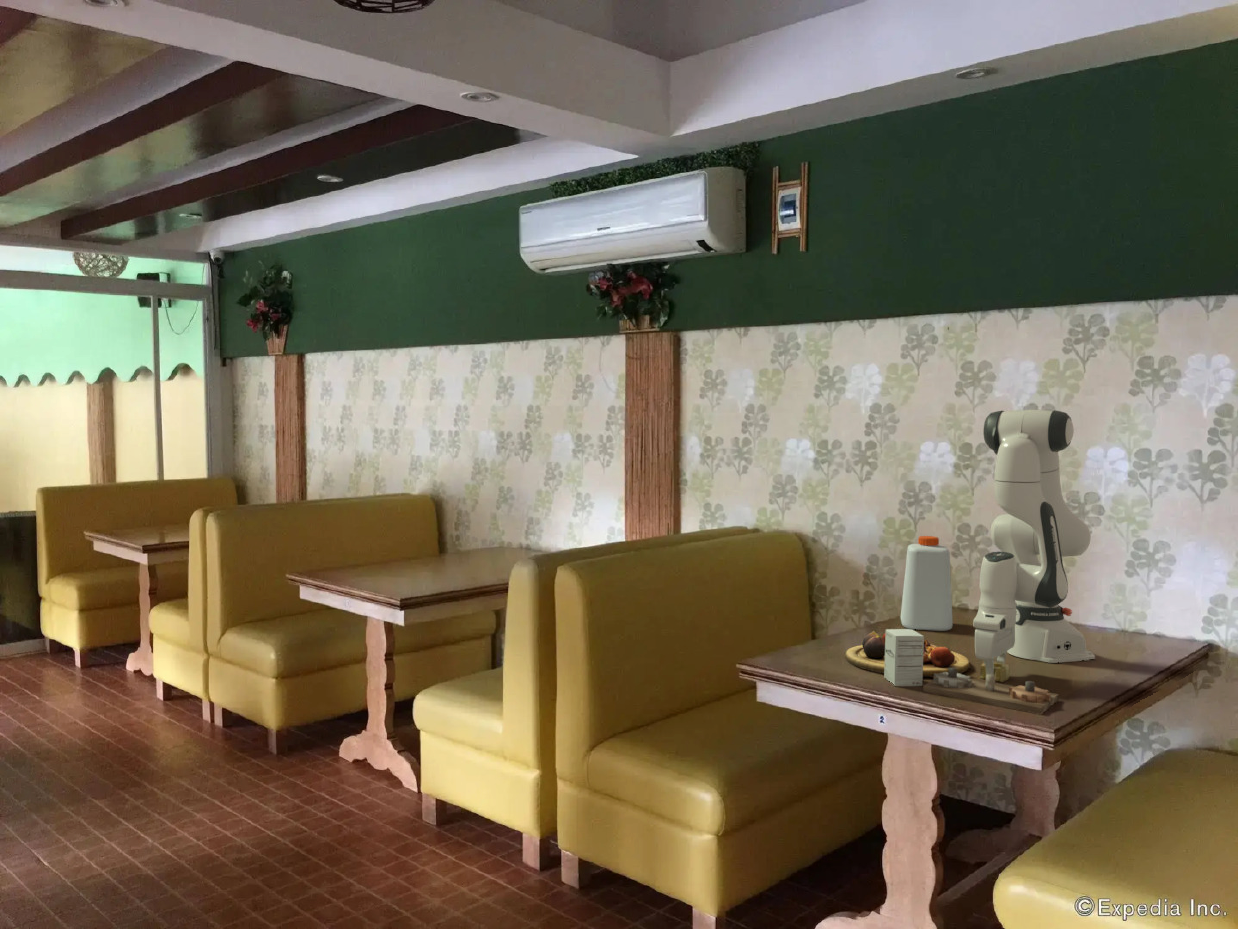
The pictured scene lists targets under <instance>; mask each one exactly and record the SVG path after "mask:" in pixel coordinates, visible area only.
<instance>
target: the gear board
mask: <svg viewBox="0 0 1238 929" xmlns="http://www.w3.org/2000/svg"><path fill="white" fill-rule="evenodd" d="M1024 683H1025V684H1024V685H1023V684H1022V685H1021V684H1018V685H1017V686H1014V685H1009V684H1003V683H1000V682H999V683H998V682H996V681H995V675H992V674H986V679H985V680H983V679H982V680H981V679H977V678H975V679H974V678H972V677H971V676H970V675H965V674H963V673H957V669H956V668H948V673H947V672H942V673H939V674H937V673H935V674H934V677H933V680H931V681H929V682H927V683H926V684H923V685H922V692H923V693H928V694H932V693H934V694H933V695H937V694H938V695H937V696H942V695H944V696H943V697H947V696H948V698H952V697H953V699H958V700H963V699H965V700H964V701H968V700H969V702H973V701H974V702H973V703H978V702H979V704H984V705H989V706H994V705H995V707H999V706H1000V708H1004V707H1006V708H1005V709H1009V708H1010V710H1014V709H1015V710H1016V711H1020V710H1022V711H1021V712H1025V711H1030V712H1034V713H1033V714H1035V713H1039V714H1038V715H1040V714H1041V713H1042V712H1044V711H1045V712H1046V711H1047V710H1049V707H1050V706H1051V705H1052V706H1054V705H1055V704H1056V703H1058V701H1059V694H1058V693H1054V692H1050V690H1048V689H1043V688H1040V687H1038V686H1036V684H1035V681H1031V680H1027V681H1026V680H1025V682H1024ZM1055 702H1056V703H1055ZM1054 703H1055V704H1054ZM1052 706H1051V707H1052ZM1051 707H1050V708H1051ZM1015 710H1014V711H1015ZM1030 712H1029V713H1030ZM1045 712H1044V713H1045ZM1042 714H1043V713H1042ZM1042 714H1041V715H1042Z"/></svg>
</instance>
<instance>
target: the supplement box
mask: <svg viewBox="0 0 1238 929" xmlns="http://www.w3.org/2000/svg"><path fill="white" fill-rule="evenodd" d="M885 633H886V636H885V667H884V673H883V674H884V676H883V679H885V678H886V679H885V680H886V681H888V682H889V681H890V682H889V683H891V682H892V683H893V684H894V685H893V684H892V683H891V684H892V685H893V686H894V687H923V679H924V677H923V651H924V640H925V635H923V634H921V633H920V632H918V631H915V629H909V628H897V629H896V628H891V629H890V628H889V629H888V628H887V629H885ZM899 685H900V686H899Z"/></svg>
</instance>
